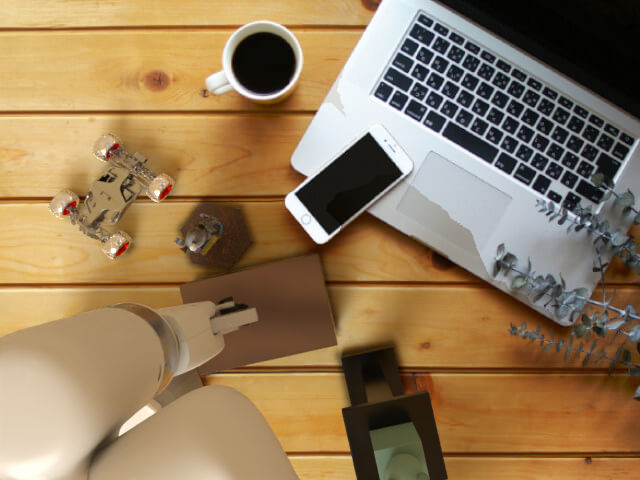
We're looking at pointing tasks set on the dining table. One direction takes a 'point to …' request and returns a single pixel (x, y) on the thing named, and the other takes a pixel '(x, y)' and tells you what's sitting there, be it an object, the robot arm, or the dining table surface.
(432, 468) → the plant stand
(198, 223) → the robot figurine
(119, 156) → the toy car
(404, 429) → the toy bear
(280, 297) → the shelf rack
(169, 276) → the dining table surface
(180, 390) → the jar
